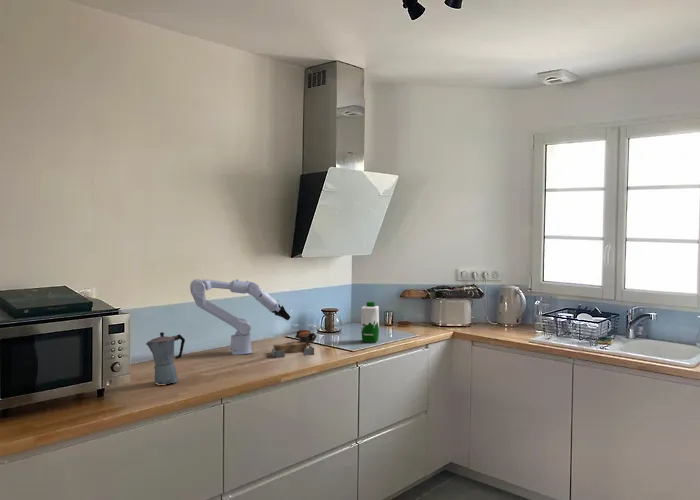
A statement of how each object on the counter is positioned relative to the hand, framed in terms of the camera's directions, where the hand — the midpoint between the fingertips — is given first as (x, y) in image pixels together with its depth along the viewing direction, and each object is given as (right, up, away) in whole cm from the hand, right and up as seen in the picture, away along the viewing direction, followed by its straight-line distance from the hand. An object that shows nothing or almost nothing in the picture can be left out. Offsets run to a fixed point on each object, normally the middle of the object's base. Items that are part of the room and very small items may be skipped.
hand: (287, 317), depth 279 cm
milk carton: (+41, -14, +15) cm, 46 cm away
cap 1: (-3, -16, -14) cm, 22 cm away
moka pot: (-41, -19, -56) cm, 72 cm away
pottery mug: (+8, -15, +11) cm, 20 cm away
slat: (+2, -16, -6) cm, 17 cm away
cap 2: (+11, -16, -9) cm, 21 cm away
